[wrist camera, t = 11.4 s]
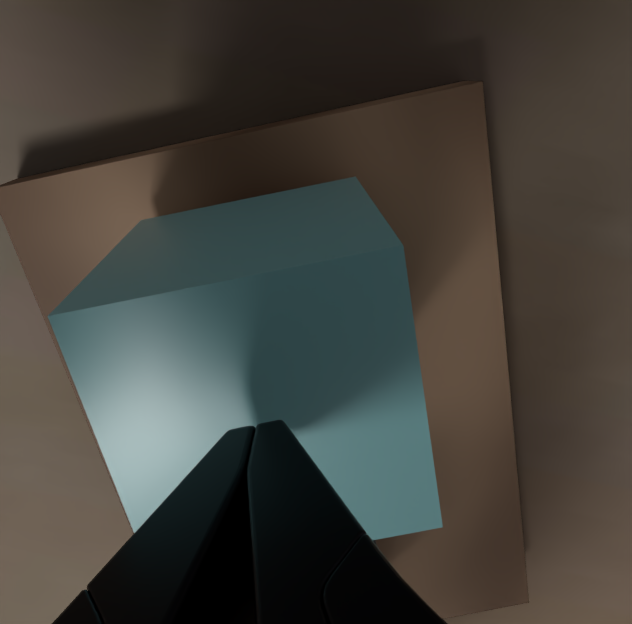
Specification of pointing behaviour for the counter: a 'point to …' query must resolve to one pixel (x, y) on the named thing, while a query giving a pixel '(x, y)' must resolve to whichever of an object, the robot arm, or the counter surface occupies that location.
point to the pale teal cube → (258, 349)
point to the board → (423, 276)
